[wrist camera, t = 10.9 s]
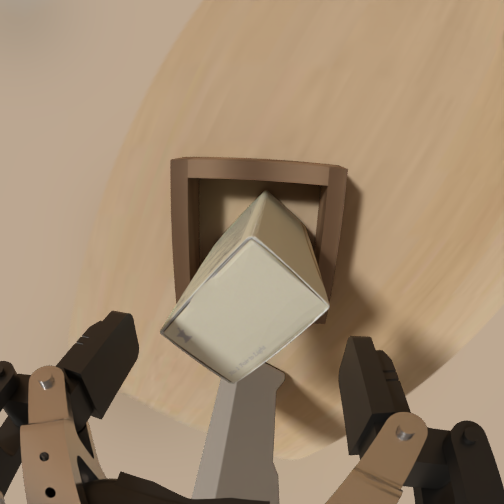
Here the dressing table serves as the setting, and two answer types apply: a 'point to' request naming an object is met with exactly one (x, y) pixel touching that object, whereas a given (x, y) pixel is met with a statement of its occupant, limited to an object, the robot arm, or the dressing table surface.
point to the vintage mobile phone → (242, 440)
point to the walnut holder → (193, 168)
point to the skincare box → (250, 293)
